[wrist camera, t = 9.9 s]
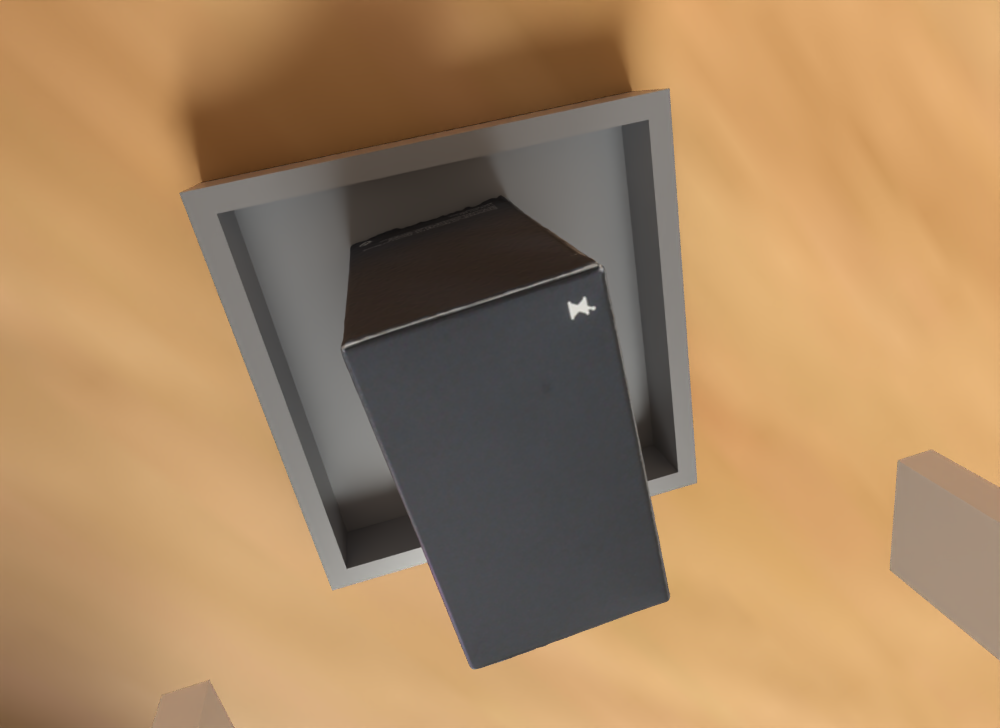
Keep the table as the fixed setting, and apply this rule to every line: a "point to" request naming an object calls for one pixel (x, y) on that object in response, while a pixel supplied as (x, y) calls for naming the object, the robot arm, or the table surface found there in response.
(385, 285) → the small box
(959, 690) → the table surface
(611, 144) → the tray
